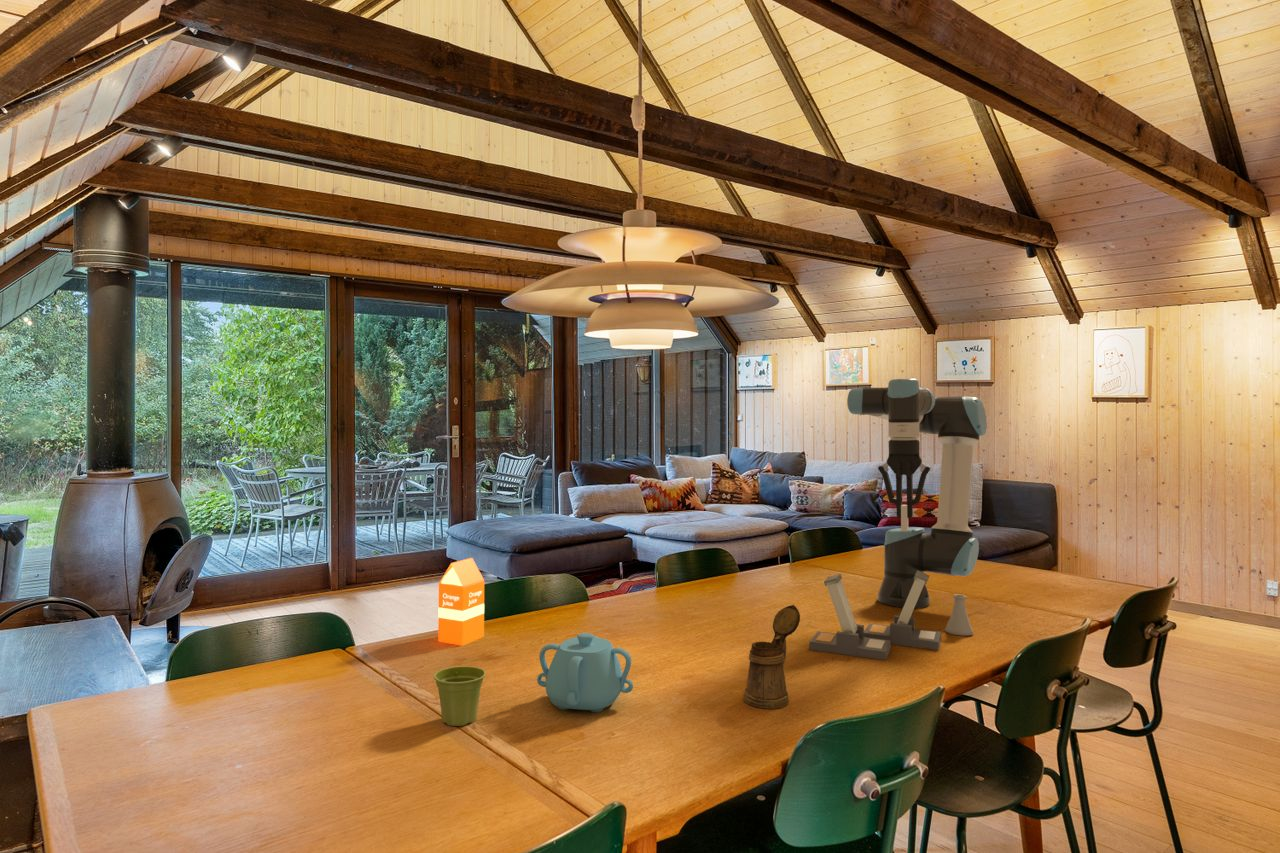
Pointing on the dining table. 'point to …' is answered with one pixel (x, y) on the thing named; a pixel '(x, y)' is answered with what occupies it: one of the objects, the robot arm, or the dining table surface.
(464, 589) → the orange juice
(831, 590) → the lever near
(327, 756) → the dining table surface
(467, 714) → the plant pot
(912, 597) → the lever far
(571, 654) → the decorative pot
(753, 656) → the wooden mug
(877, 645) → the housing near
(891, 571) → the robot arm
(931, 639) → the housing far
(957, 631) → the flask
